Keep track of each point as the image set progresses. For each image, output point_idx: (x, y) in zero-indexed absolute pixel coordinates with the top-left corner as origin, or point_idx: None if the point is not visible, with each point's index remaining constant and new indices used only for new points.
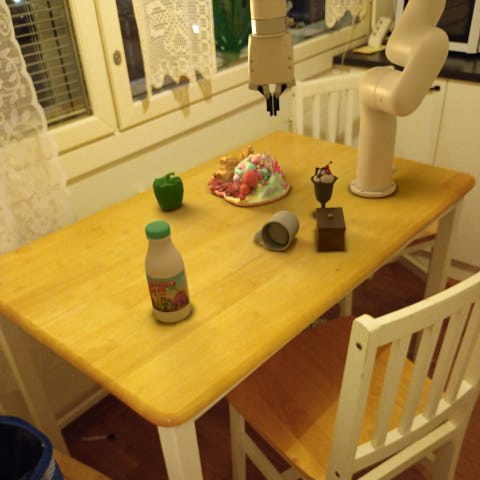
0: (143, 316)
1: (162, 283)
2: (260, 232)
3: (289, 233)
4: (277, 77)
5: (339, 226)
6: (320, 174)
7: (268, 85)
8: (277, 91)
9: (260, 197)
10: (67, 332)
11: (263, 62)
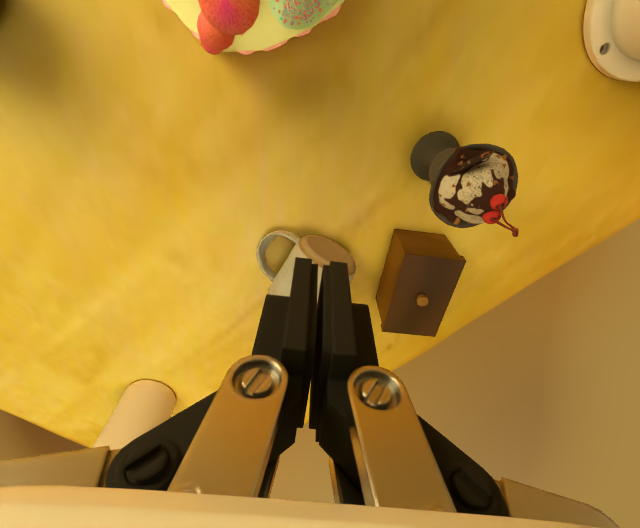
0: (114, 396)
1: None
2: (270, 238)
3: None
4: None
5: (424, 332)
6: (463, 208)
7: (260, 483)
8: (356, 500)
9: (276, 12)
10: (26, 409)
11: None
